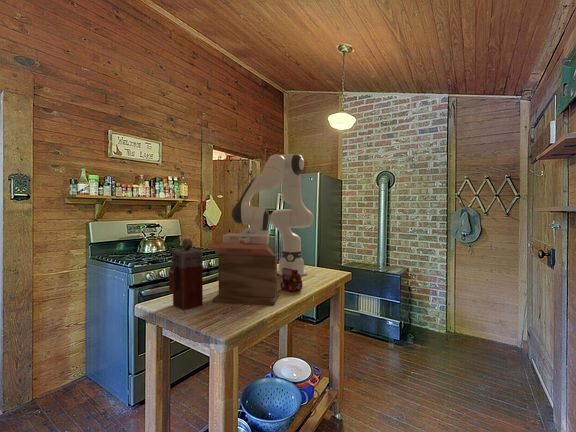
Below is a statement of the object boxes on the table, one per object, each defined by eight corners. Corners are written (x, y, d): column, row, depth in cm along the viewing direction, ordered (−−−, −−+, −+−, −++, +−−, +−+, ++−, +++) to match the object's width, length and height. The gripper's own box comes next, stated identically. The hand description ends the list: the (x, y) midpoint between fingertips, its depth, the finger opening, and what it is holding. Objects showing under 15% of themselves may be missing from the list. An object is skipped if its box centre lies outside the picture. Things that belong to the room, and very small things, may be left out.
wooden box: (223, 292, 147) (223, 251, 146) (279, 295, 143) (279, 252, 142) (212, 302, 133) (212, 256, 132) (274, 305, 129) (274, 258, 128)
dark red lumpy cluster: (296, 294, 146) (296, 272, 145) (277, 288, 154) (277, 268, 153) (305, 290, 151) (305, 269, 150) (287, 286, 159) (287, 266, 159)
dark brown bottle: (167, 306, 127) (166, 239, 126) (192, 300, 135) (191, 237, 134) (177, 311, 121) (176, 241, 120) (203, 305, 129) (202, 238, 128)
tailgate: (220, 250, 138) (208, 243, 123) (273, 252, 134) (266, 245, 120) (220, 255, 137) (207, 249, 123) (273, 257, 134) (266, 251, 120)
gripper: (228, 229, 143) (217, 233, 129) (271, 230, 140) (265, 233, 126) (228, 243, 143) (217, 247, 129) (271, 244, 140) (265, 249, 127)
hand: (241, 241), depth 128 cm, fingers closed
